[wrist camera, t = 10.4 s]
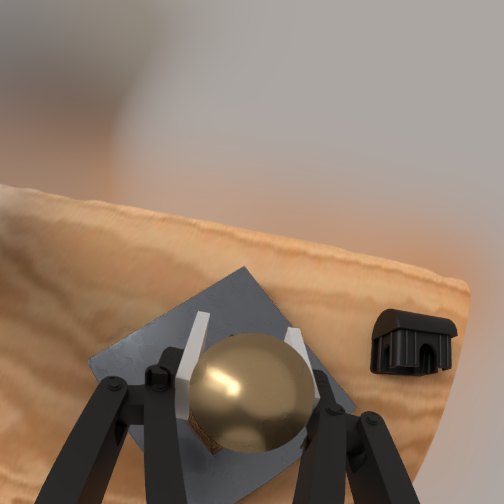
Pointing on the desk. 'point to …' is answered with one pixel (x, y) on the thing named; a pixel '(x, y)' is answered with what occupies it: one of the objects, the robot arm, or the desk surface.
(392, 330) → the end cap
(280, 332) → the frame
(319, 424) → the robot arm
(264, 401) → the metal cylinder
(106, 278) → the desk surface
